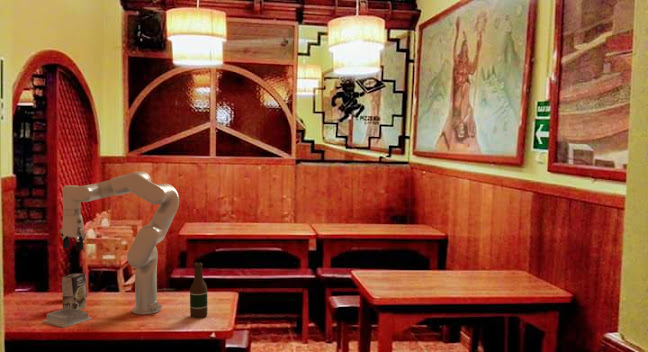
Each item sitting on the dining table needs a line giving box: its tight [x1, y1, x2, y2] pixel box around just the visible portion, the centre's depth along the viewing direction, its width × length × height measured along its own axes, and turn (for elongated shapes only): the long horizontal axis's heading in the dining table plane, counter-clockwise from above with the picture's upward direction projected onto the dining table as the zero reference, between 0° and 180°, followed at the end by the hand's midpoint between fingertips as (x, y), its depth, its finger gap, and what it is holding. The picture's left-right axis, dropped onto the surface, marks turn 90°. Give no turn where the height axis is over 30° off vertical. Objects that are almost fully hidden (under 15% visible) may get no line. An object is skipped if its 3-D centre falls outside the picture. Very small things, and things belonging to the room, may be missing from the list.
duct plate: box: [42, 308, 93, 329], centre depth 253 cm, size 14×14×3 cm
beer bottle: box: [189, 262, 208, 319], centre depth 259 cm, size 8×8×24 cm
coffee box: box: [61, 272, 87, 311], centre depth 269 cm, size 9×6×16 cm
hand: (73, 249), depth 268 cm, fingers open, 9 cm apart
